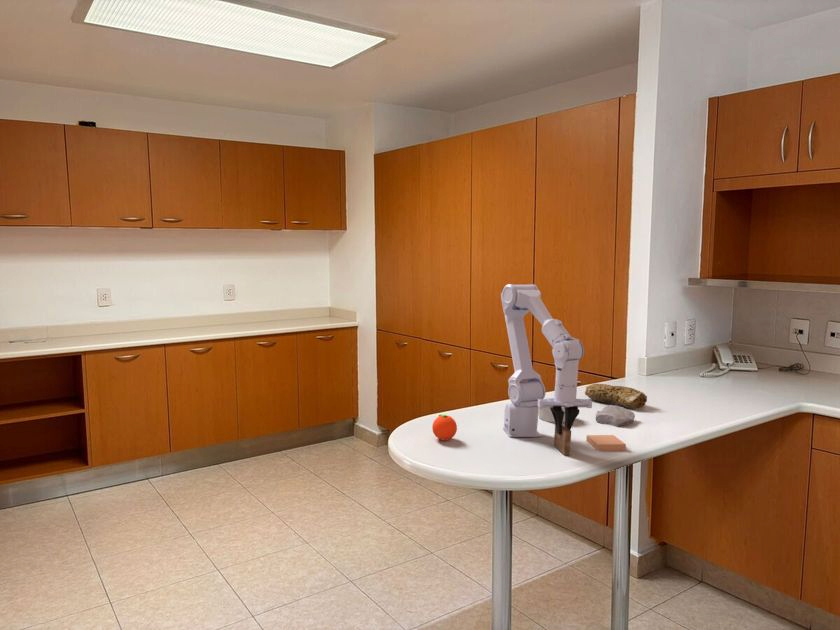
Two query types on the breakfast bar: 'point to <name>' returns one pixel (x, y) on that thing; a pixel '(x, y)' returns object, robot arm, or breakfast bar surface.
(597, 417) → the stone block
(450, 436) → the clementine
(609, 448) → the terracotta tile
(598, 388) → the mossy brown rock
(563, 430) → the brown wooden block
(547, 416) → the ramekin
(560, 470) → the breakfast bar surface
